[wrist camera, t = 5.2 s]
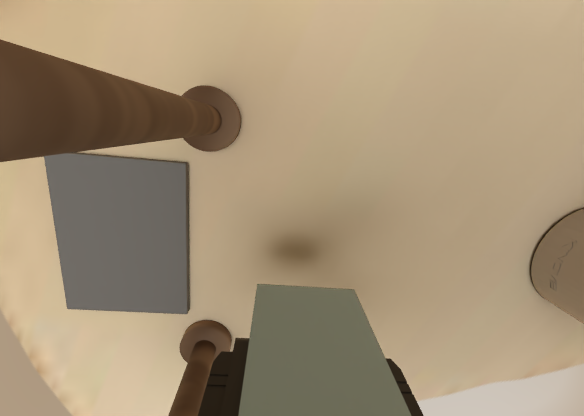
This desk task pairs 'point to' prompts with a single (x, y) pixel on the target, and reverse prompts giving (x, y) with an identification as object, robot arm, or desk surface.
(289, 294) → the block
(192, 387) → the post
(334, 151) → the desk surface
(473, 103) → the desk surface
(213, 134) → the post
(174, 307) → the mat
